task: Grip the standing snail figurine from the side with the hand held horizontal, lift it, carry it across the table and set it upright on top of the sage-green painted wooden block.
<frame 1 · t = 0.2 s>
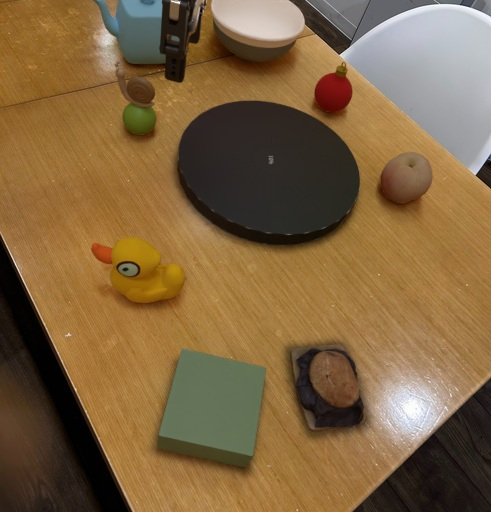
hand: (182, 59, 60), 22 cm above the table, tool pointing down, fingers open, 8 cm apart
teapot: (139, 51, 96), on the table
duckling: (141, 291, 66), on the table
snail figurine: (136, 130, 83), on the table
christmas ornament: (327, 109, 96), on the table
disc: (267, 173, 83), on the table
fruit: (395, 195, 85), on the table
bowl: (251, 51, 103), on the table
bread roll: (325, 386, 63), on the table
green block: (210, 414, 58), on the table
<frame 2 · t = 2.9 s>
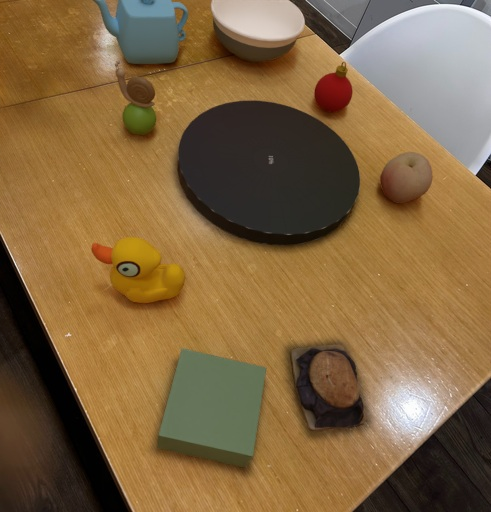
nothing on the table moved.
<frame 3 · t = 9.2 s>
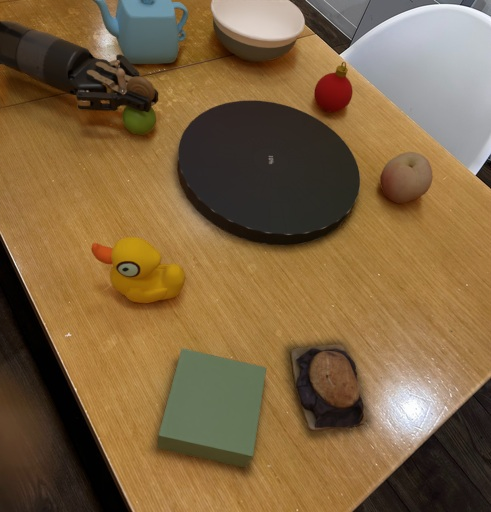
hand: (153, 101, 77), 7 cm above the table, tool horizontal, fingers closed on snail figurine
snail figurine: (136, 130, 83), on the table, touching gripper
everything else where it was.
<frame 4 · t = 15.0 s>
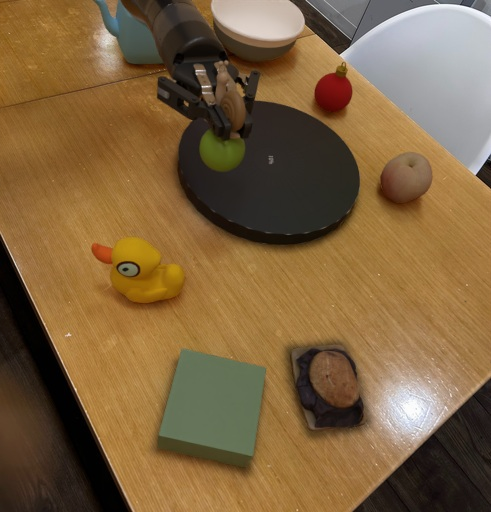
hand: (237, 133, 54), 22 cm above the table, tool horizontal, fingers closed on snail figurine
snail figurine: (215, 164, 61), point 14 cm above the table, touching gripper
everything else where it was.
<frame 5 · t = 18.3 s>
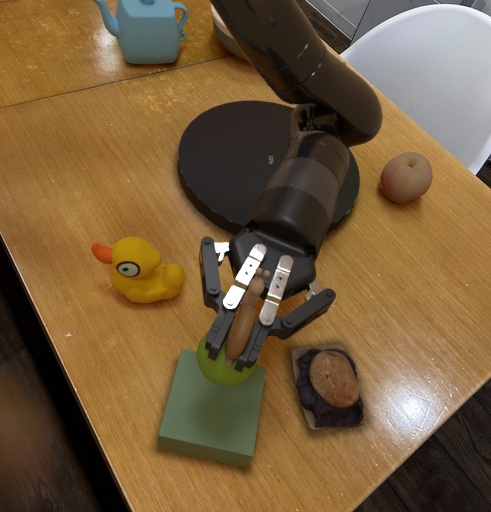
hand: (226, 361, 39), 21 cm above the table, tool horizontal, fingers closed on snail figurine
snail figurine: (222, 362, 47), point 14 cm above the table, touching gripper
everything else where it was.
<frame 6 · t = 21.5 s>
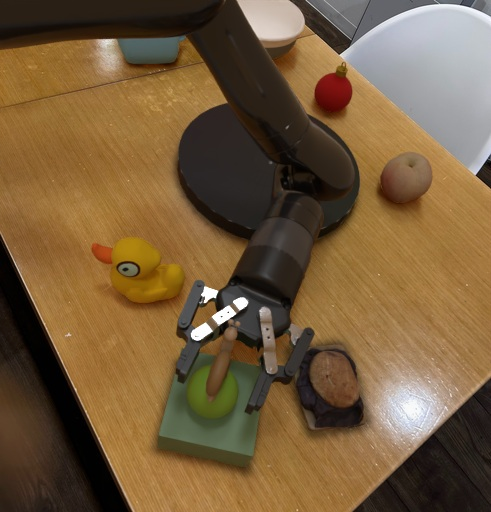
hand: (215, 395, 47), 12 cm above the table, tool horizontal, fingers open, 6 cm apart
snail figurine: (210, 396, 54), point 5 cm above the table, touching green block
everything else where it was.
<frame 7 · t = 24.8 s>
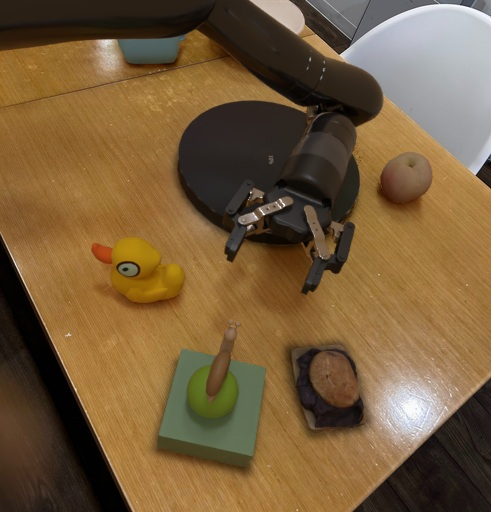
hand: (267, 273, 52), 16 cm above the table, tool horizontal, fingers open, 8 cm apart
nothing on the table moved.
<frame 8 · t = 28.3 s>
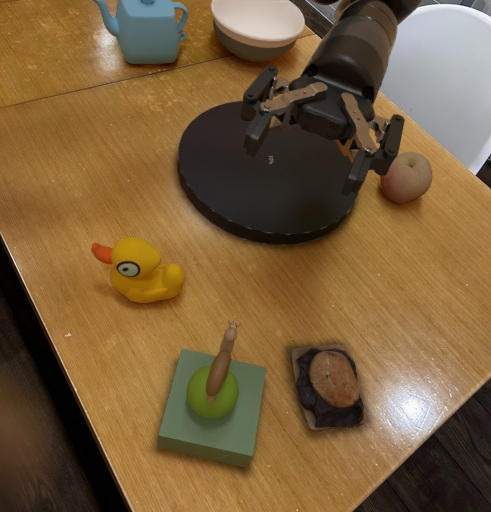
hand: (299, 168, 41), 30 cm above the table, tool horizontal, fingers open, 8 cm apart
nothing on the table moved.
at the end: snail figurine inside the target area on the green block (0.7 cm from its centre), point 4.8 cm above the green block's base; snail figurine tilted 0°; the gripper is holding nothing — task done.
